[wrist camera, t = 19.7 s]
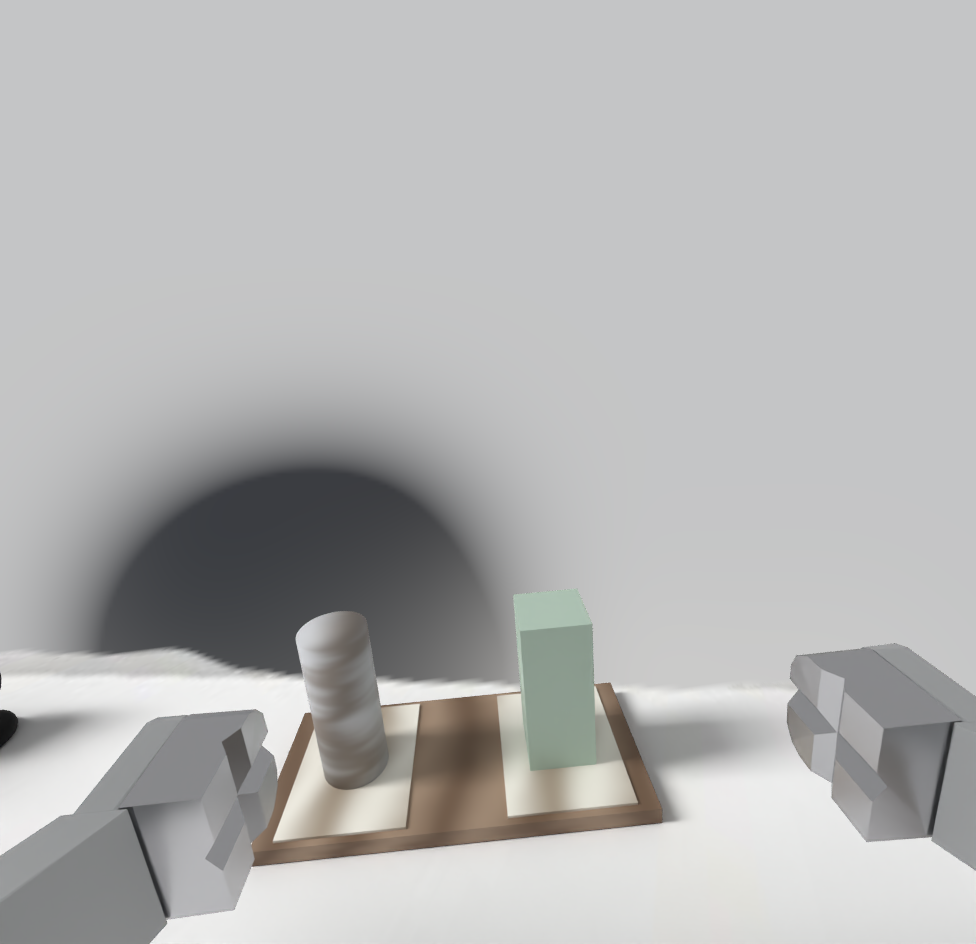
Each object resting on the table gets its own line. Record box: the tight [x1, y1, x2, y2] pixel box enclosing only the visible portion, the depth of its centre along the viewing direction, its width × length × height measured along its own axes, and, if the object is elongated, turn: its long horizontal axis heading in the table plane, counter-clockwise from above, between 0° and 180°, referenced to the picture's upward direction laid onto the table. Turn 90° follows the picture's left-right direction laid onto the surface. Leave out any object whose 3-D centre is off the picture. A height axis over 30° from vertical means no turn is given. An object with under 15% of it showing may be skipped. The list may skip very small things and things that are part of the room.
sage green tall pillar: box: [513, 589, 596, 771], centre depth 40 cm, size 5×5×12 cm
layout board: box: [251, 611, 662, 866], centre depth 40 cm, size 28×13×13 cm, turn 92°
